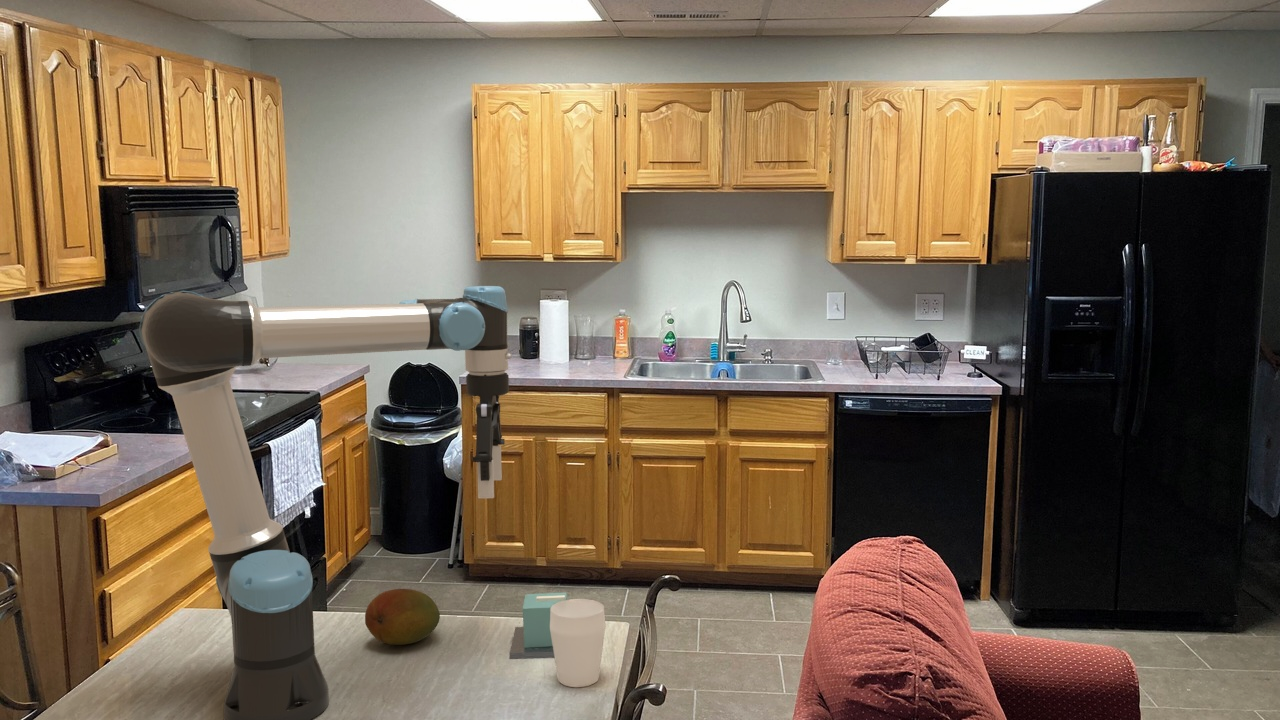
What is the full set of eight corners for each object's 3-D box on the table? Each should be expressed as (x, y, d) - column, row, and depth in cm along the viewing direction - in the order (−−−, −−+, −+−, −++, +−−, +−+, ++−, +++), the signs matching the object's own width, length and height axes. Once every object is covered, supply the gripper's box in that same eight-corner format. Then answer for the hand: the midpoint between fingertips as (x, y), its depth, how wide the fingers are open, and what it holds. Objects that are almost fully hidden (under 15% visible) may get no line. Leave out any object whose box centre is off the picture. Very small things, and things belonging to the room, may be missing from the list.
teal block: (524, 647, 176) (522, 605, 175) (527, 631, 183) (525, 590, 182) (566, 645, 176) (565, 603, 175) (568, 629, 183) (566, 589, 182)
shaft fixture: (509, 658, 173) (508, 624, 173) (515, 632, 185) (514, 600, 185) (579, 656, 174) (579, 623, 173) (581, 630, 186) (580, 599, 185)
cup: (598, 693, 160) (597, 619, 158) (543, 688, 161) (542, 616, 160) (611, 669, 168) (610, 600, 167) (559, 665, 170) (558, 597, 169)
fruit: (355, 647, 179) (353, 593, 178) (404, 624, 190) (402, 573, 189) (405, 660, 173) (403, 604, 172) (452, 635, 184) (451, 582, 183)
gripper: (501, 381, 169) (504, 505, 171) (514, 364, 193) (516, 473, 196) (456, 381, 168) (460, 506, 171) (474, 364, 193) (478, 473, 195)
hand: (490, 488), depth 183 cm, fingers open, 13 cm apart
